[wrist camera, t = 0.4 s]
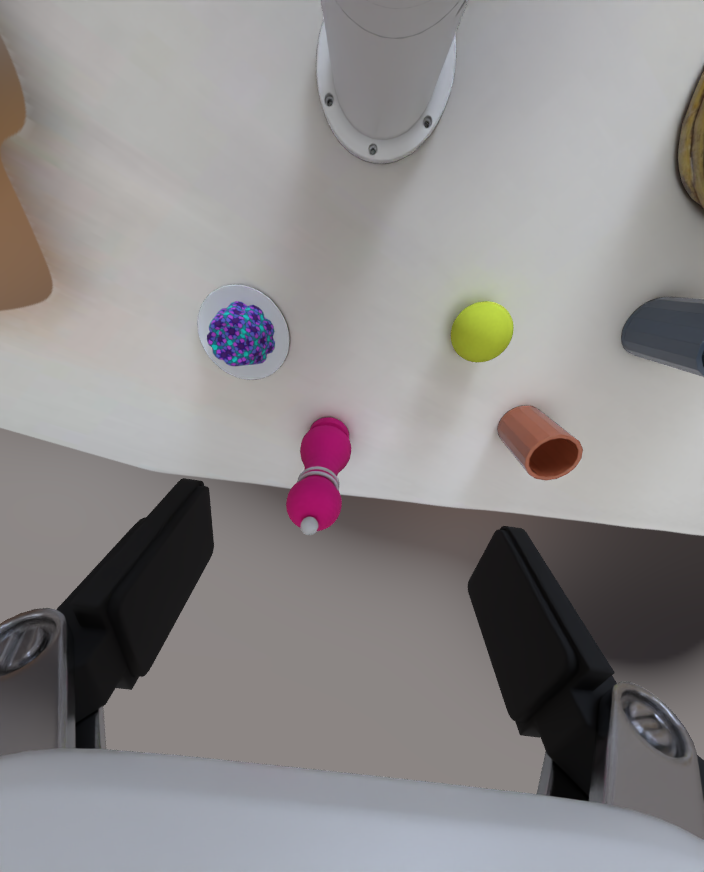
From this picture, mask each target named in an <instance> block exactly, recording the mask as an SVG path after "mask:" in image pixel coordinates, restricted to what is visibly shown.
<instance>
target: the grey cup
mask: <svg viewBox="0 0 704 872" xmlns="http://www.w3.org/2000/svg"><path fill="white" fill-rule="evenodd" d="M621 341H622V345H623V347H624V349H625V350H626V351H627V352H628V353H630V354H633V355H634V356H638V357H641V358H644V359H647V360H651V361H654V362H657V363H660V364H664V365H667V366H670V367H673V368H677V369H680V370H683V371H686V372H690V373H693V374H696V375H699V376H703V377H704V299H693V298H680V297H661V298H657V299H654V300H651V301H649V302H647V303H645V304H644V305H642V306H641V307H639V308H638V309H637V310H636V311H635V312H634V313H633V314H632V315H631V316H630V318H629V319H628V320H627V322H626V324H625V326H624V328H623V331H622V336H621Z"/></svg>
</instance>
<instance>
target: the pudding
mask: <svg viewBox="0 0 704 872" xmlns="http://www.w3.org/2000/svg"><path fill="white" fill-rule="evenodd" d="M197 325H198V334H199V338H200V341H201V343H202V346H203V348H204V350H205V351H206V353H207V355H208V356H209V357H210V359H211V360H212V361H213V362H214V363H215V364H216V365H217V366H218V367H219V368H220V369H222V370H223V371H225V372H226V373H228V374H230V375H232V376H235V377H238V378H241V379H247V380H257V379H262V378H265V377H268V376H270V375H271V374H273V373H274V372H276V371H277V370H278V369H279V368H280V367H281V365H282V364H283V362H284V361H285V359H286V356H287V353H288V349H289V332H288V328H287V324H286V321H285V319H284V317H283V315H282V313H281V312H280V310H279V309H278V307H277V306H276V305H275V304H274V302H273V301H272V300H271V299H270V298H268V297H267V296H266V295H265V294H263V293H262V292H260V291H258V290H256V289H254V288H251V287H248V286H244V285H239V284H238V285H226V286H222V287H220V288H218V289H216V290H214V291H213V292H212V293H210V294H209V295H208V296H207V297H206V299H205V300H204V301H203V303H202V305H201V307H200V310H199V314H198V322H197Z"/></svg>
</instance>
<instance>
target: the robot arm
mask: <svg viewBox="0 0 704 872" xmlns="http://www.w3.org/2000/svg"><path fill="white" fill-rule="evenodd" d="M467 3H468V0H321V5H322V11H323V17H324V19H323V22H322V26H321V29H320V33H319V39H318V46H317V53H316V76H317V84H318V92H319V97H320V101H321V105H322V108H323V111H324V114H325V117H326V120H327V122H328V124H329V126H330V128H331V130H332V132H333V134H334V135H335V136H336V138H337V139H338V140H339V142H340V143H341V144H342V145H343V146H344V147H345V148H346V149H347V150H348V151H349V152H350V153H351V154H353V155H355V156H356V157H358V158H360V159H362V160H364V161H368V162H372V163H390V162H394V161H398V160H400V159H402V158H404V157H406V156H408V155H410V154H411V153H412V152H414V151H415V150H416V149H418V148H419V147H420V146H421V145H422V144H423V143H424V141H425V140H426V139H427V138H428V137H429V136H430V134H431V133H432V131H433V130H434V128H435V127H436V125H437V123H438V122H439V119H440V117H441V115H442V114H443V112H444V109H445V106H446V104H447V101H448V98H449V96H450V92H451V88H452V84H453V79H454V74H455V64H456V36H455V34H456V32H457V29H458V26H459V24H460V21H461V18H462V16H463V13H464V11H465V8H466V5H467ZM329 101H331V102H332V103H333V104H332V106H328V105H327V104H328V102H329ZM424 123H428V125H429V126H428V128H425V127H424ZM372 149H374V150H375V154H374V155H372V154H371V153H370V151H371V150H372ZM213 548H214V542H213V530H212V518H211V506H210V495H209V488H208V487H206V486H204V483H203V482H202V481H198V480H191V479H184V478H183V479H181V480H180V481H179V482H178V483H177V484H176V485H175V486H174V487H173V488H172V490H171V491H170V492H169V493H168V494H167V495H166V496H165V498H163V500H162V501H161V502H160V503H159V504H158V505H157V506H156V507H155V509H153V511H152V512H151V513H150V514H149V515H148V516H147V517H146V518H143V519H140V520H139V521H138V522H137V523H136V524H135V525H134V526H133V527H132V528H131V529H130V530H129V532H127V534H126V535H125V536H124V537H123V538H122V539H121V540H120V541H119V542H118V543H117V544H116V546H115V547H114V548H113V549H112V550H111V551H110V552H109V553H108V554H107V555H106V556H105V557H104V559H103V560H102V561H101V562H100V563H99V564H98V565H97V566H96V567H95V568H94V569H93V570H92V572H91V573H90V574H89V575H88V576H87V577H86V578H85V579H84V580H83V581H82V582H81V584H80V585H79V586H78V587H77V588H76V589H75V590H74V591H73V592H72V593H71V594H70V595H69V597H68V598H67V599H66V600H65V601H64V602H63V603H62V604H61V605H60V606H59V607H58V608H57V610H54V609H50V608H43V609H34V610H31V611H27V612H24V613H20V614H18V615H16V616H14V617H12V618H10V619H7V620H5V621H4V622H2V623H1V624H0V872H704V760H702V759H701V758H700V757H699V756H698V755H697V753H696V749H695V746H694V743H693V741H692V739H691V737H690V735H689V733H688V732H687V730H686V728H685V727H684V725H683V724H682V723H681V721H680V720H679V719H678V718H677V716H676V715H675V714H674V713H673V712H672V711H671V710H670V709H669V708H668V707H667V706H666V705H665V704H664V703H663V702H662V701H661V700H660V699H658V698H657V697H656V696H655V695H653V694H652V693H651V692H649V691H647V690H646V689H644V688H642V687H641V686H639V685H636V684H633V683H630V682H619V683H616V681H615V680H614V678H613V676H612V675H613V674H614V671H613V669H612V668H611V666H610V665H609V663H608V661H607V660H606V658H605V657H604V655H603V654H602V652H601V650H600V649H599V647H598V646H597V644H596V643H595V641H594V639H593V638H592V636H591V634H590V633H589V631H588V630H587V628H586V626H585V625H584V623H583V622H582V620H581V619H580V617H579V615H578V614H577V612H576V611H575V609H574V608H573V606H572V604H571V603H570V601H569V600H568V598H567V597H566V595H565V594H564V592H563V590H562V588H561V587H560V585H559V584H558V582H557V580H556V579H555V577H554V576H553V574H552V573H551V571H550V569H549V568H548V566H547V565H546V563H545V561H544V560H543V558H542V557H541V555H540V553H539V552H538V550H537V549H536V547H535V546H534V544H533V542H532V541H531V539H530V538H529V536H528V534H527V533H526V532H525V530H523V529H522V528H515V527H508V526H503V527H501V529H500V530H496V531H495V533H494V535H493V537H492V539H491V540H490V542H489V544H488V546H487V548H486V550H485V552H484V553H483V555H482V557H481V559H480V561H479V563H478V565H477V567H476V568H475V570H474V572H473V574H472V576H471V578H470V580H469V582H468V592H469V595H470V598H471V602H472V605H473V608H474V611H475V614H476V617H477V620H478V623H479V626H480V629H481V632H482V635H483V638H484V641H485V644H486V647H487V650H488V654H489V656H490V659H491V663H492V666H493V669H494V672H495V674H496V678H497V681H498V684H499V687H500V690H501V693H502V696H503V699H504V702H505V705H506V708H507V711H508V713H509V715H510V717H511V718H512V719H513V720H514V721H515V722H516V724H517V727H518V730H519V733H520V735H524V736H531V737H541V739H542V742H543V744H544V746H545V750H546V752H545V758H544V762H543V767H542V771H541V776H540V781H539V786H538V790H537V794H531V793H523V792H514V791H505V790H497V789H488V788H479V787H470V786H461V785H453V784H444V783H435V782H426V781H417V780H408V779H399V778H390V777H381V776H371V775H362V774H353V773H343V772H334V771H325V770H316V769H307V768H298V767H288V766H278V765H268V764H259V763H249V762H239V761H230V760H220V759H211V758H200V757H191V756H181V755H169V754H157V753H145V752H133V751H120V750H108V749H106V740H105V724H104V710H103V706H104V705H105V704H106V703H107V701H108V699H109V698H110V696H111V694H112V693H113V691H114V690H115V688H121V689H130V690H132V688H133V686H134V685H135V683H136V681H137V679H138V678H139V676H145V675H146V674H147V672H148V671H149V670H150V668H151V666H152V664H153V663H154V661H155V659H156V657H157V655H158V653H159V652H160V650H161V648H162V646H163V644H164V642H165V641H166V639H167V637H168V635H169V633H170V631H171V629H172V628H173V626H174V624H175V622H176V620H177V619H178V617H179V615H180V613H181V611H182V609H183V608H184V606H185V604H186V602H187V600H188V598H189V596H190V595H191V593H192V591H193V589H194V587H195V585H196V584H197V582H198V580H199V578H200V576H201V574H202V573H203V571H204V569H205V567H206V565H207V563H208V562H209V560H210V558H211V556H212V553H213Z"/></svg>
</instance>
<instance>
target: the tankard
mask: <svg viewBox="0 0 704 872" xmlns="http://www.w3.org/2000/svg"><path fill="white" fill-rule="evenodd" d="M678 164H679V172H680V176H681V181H682V183H683V185H684V187H685V189H686V191H687V192H688V194H689V195H690V197H691V198H692V199H693V200H694V201H695V202H697V203H698V204H699V205H701V206H702V207H703V208H704V71H703V73H702V75H701V78H700V80H699V82H698V85H697V87H696V89H695V92H694V94H693V96H692V99H691V102H690V104H689V107H688V110H687V112H686V115H685V118H684V120H683V124H682V129H681V134H680V141H679V149H678Z"/></svg>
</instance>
